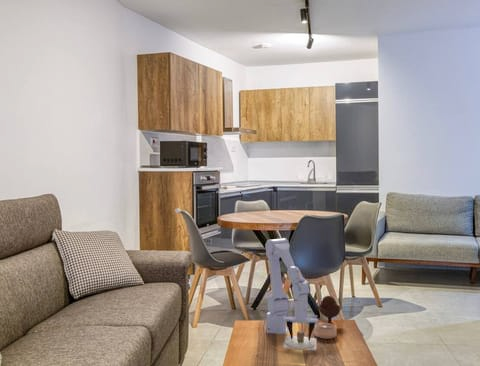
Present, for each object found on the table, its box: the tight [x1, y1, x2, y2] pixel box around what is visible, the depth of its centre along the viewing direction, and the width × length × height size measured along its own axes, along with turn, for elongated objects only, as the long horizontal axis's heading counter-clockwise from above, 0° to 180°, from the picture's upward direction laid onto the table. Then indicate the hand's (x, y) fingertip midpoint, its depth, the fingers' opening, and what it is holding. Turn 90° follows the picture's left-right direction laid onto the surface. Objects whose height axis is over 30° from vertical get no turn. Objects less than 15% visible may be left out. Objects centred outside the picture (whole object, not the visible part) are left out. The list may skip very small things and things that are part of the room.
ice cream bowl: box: [318, 295, 342, 325], centre depth 243 cm, size 11×11×15 cm
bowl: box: [314, 322, 338, 340], centre depth 228 cm, size 10×10×5 cm
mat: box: [283, 335, 318, 351], centre depth 219 cm, size 14×14×1 cm
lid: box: [286, 330, 315, 350], centre depth 219 cm, size 13×13×5 cm
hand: (300, 339), depth 219 cm, fingers open, 7 cm apart
